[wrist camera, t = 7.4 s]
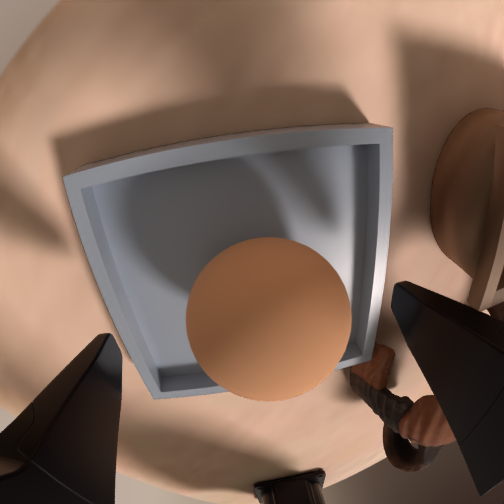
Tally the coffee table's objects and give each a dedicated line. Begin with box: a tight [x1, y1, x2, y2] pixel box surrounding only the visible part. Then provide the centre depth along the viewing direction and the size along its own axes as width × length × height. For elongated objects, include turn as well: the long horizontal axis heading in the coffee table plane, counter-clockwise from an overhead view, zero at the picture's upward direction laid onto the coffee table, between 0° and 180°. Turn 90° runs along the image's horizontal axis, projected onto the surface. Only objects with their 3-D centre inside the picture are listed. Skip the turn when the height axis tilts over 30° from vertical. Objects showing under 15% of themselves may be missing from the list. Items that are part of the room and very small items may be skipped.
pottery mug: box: [350, 301, 504, 472], centre depth 14 cm, size 12×10×8 cm
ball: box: [186, 237, 352, 401], centre depth 9 cm, size 5×5×5 cm
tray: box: [63, 123, 393, 399], centre depth 11 cm, size 10×10×2 cm
